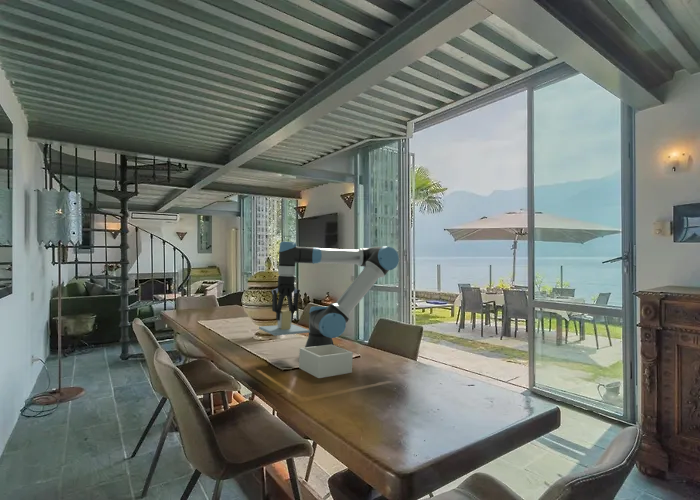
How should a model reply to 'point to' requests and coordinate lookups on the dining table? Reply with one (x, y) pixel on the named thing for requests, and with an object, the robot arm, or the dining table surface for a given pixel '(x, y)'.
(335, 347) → the box
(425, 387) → the dining table surface
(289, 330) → the lid
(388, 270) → the robot arm
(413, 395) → the dining table surface
